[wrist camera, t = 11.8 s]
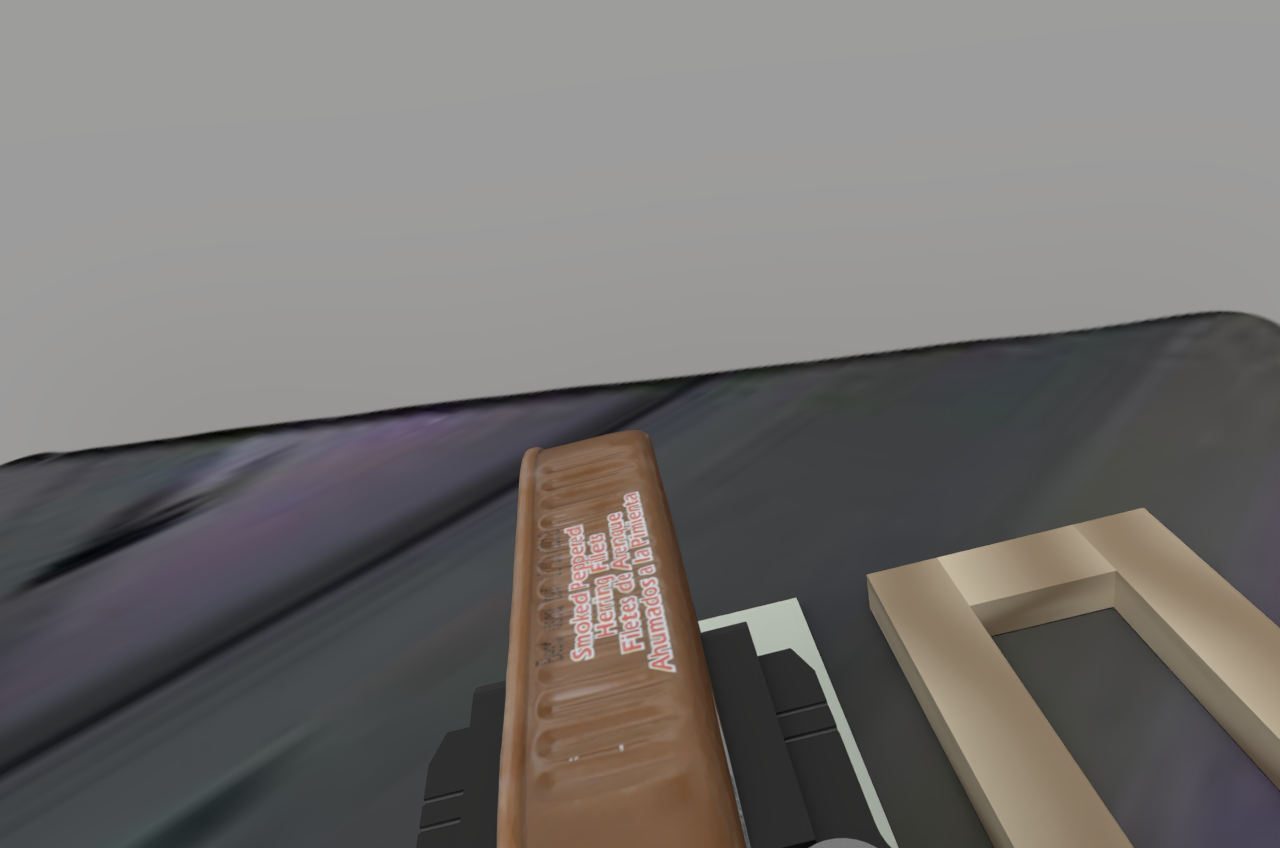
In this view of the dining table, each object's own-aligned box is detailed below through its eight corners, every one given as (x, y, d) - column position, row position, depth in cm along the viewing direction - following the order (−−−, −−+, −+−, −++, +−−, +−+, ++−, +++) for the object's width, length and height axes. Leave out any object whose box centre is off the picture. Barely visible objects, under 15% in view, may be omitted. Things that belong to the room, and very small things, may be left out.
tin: (611, 649, 23) (498, 388, 19) (720, 616, 23) (629, 346, 19) (698, 1562, 10) (378, 1319, 6) (962, 1497, 9) (824, 1201, 5)
